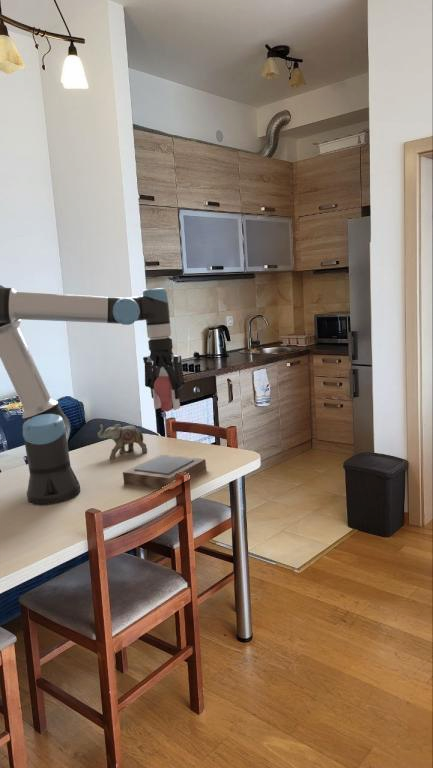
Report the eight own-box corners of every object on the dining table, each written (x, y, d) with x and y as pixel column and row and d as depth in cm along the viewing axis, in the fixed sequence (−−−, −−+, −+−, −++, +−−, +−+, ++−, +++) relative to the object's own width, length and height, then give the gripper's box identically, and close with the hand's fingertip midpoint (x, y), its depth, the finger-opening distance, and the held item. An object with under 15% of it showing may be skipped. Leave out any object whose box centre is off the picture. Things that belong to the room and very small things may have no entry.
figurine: (113, 461, 211) (99, 422, 210) (150, 449, 210) (136, 410, 209) (107, 467, 202) (92, 427, 200) (145, 454, 200) (131, 414, 199)
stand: (124, 483, 174) (122, 470, 173) (161, 465, 188) (160, 453, 188) (170, 490, 164) (169, 476, 163) (206, 470, 178) (205, 457, 178)
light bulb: (179, 408, 189) (176, 372, 187) (176, 413, 182) (173, 375, 180) (158, 409, 190) (154, 374, 188) (154, 414, 183) (150, 377, 181)
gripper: (192, 335, 180) (199, 407, 184) (143, 337, 190) (150, 404, 194) (178, 338, 174) (185, 412, 177) (128, 339, 184) (136, 409, 188)
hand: (167, 408), depth 186 cm, fingers closed on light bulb, 7 cm apart
